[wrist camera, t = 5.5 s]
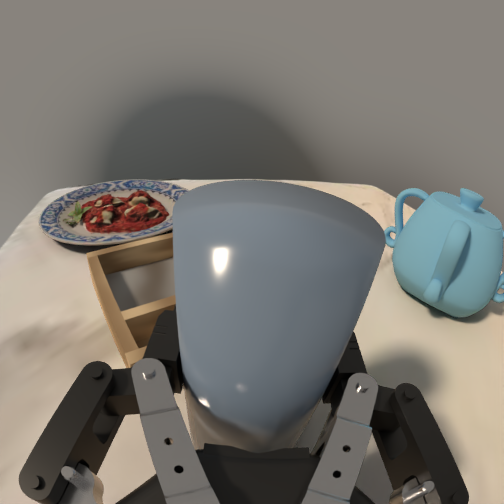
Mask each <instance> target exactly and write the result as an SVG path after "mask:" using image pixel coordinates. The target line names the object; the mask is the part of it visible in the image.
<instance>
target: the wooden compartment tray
mask: <svg viewBox="0 0 504 504" xmlns="http://www.w3.org/2000/svg"><path fill="white" fill-rule="evenodd" d="M86 254H87V259H88V264H89V269H90V274H91V278H92V282H93V285H94V288H95V291H96V294H97V297H98V300H99V302H100V305H101V308H102V311H103V313H104V316H105V318H106V321H107V324H108V326H109V329H110V331H111V333H112V336H113V338H114V341H115V343H116V345H117V348H118V350H119V352H120V354H121V357H122V359H123V361H124V363H125V365H126V367H127V368H130V367H133V365H134V364H135V363H136V362H137V361H139V360H141V359H142V358H143V356H144V353H145V350H146V347H147V345H148V342H149V339H150V337H151V334H152V331H153V329H154V326H155V323H156V321H157V318H158V316H159V315H160V314H161V313H162V312H163V311H164V310H171V311H173V310H174V307H175V305H176V297H175V280H174V258H173V233H169V234H164V235H160V236H156V237H151V238H147V239H143V240H138V241H134V242H130V243H126V244H122V245H117V246H113V247H109V248H105V249H101V250H97V251H93V252H89V253H86Z"/></svg>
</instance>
